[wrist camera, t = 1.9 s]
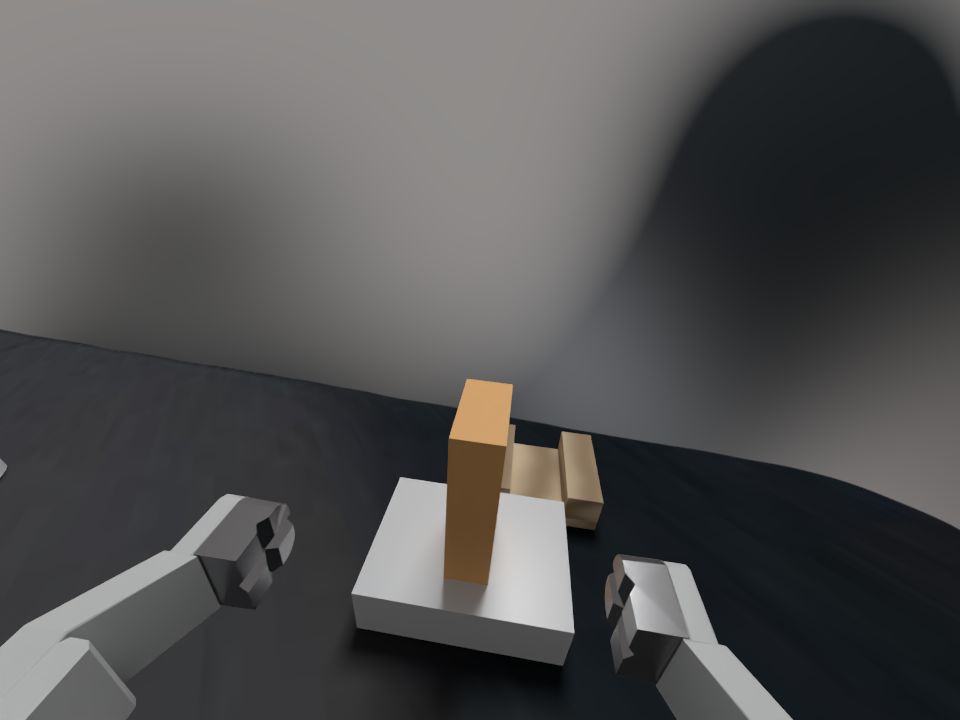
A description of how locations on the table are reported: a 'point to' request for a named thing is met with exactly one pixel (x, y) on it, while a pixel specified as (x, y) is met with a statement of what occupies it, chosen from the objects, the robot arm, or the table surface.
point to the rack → (556, 476)
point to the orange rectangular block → (475, 479)
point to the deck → (465, 605)
